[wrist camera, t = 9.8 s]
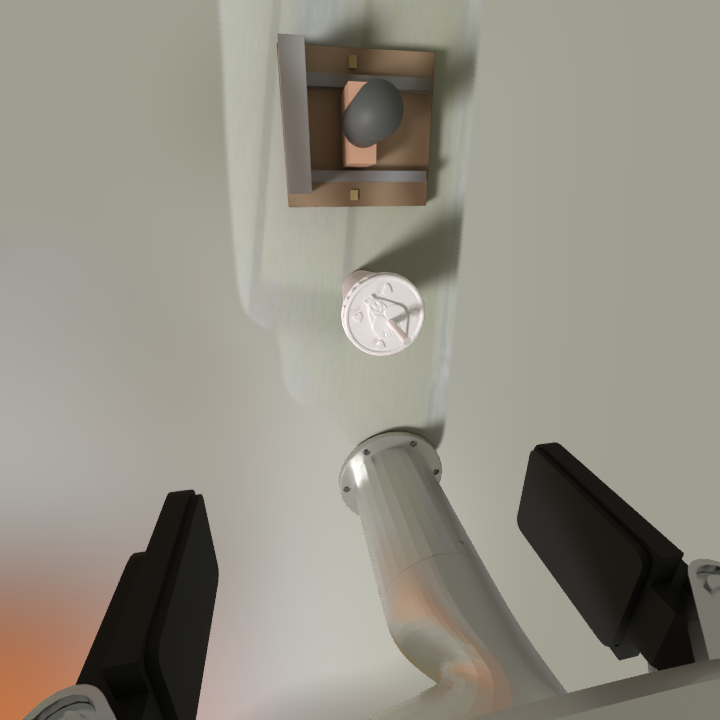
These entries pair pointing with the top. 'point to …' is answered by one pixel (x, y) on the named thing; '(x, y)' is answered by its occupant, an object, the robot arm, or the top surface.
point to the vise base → (324, 130)
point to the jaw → (368, 119)
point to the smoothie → (381, 311)
